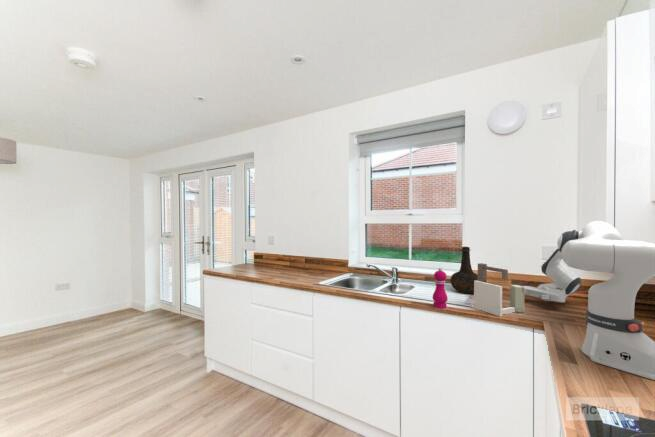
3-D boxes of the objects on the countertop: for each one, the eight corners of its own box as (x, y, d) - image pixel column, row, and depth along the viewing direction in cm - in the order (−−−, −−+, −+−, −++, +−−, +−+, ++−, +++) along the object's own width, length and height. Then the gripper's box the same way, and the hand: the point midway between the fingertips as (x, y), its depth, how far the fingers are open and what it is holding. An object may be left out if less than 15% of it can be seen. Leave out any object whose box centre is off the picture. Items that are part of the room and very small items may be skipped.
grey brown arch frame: (507, 313, 142) (508, 267, 142) (503, 313, 141) (504, 268, 141) (481, 304, 156) (481, 263, 155) (477, 305, 154) (477, 263, 154)
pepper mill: (448, 309, 148) (449, 269, 148) (433, 308, 149) (434, 268, 149) (445, 305, 155) (446, 267, 155) (431, 304, 156) (431, 266, 156)
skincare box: (525, 312, 143) (525, 287, 143) (515, 312, 144) (515, 287, 144) (518, 308, 150) (519, 284, 150) (509, 308, 150) (509, 284, 150)
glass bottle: (486, 292, 183) (486, 246, 182) (476, 297, 170) (476, 249, 170) (456, 287, 195) (457, 244, 195) (445, 291, 182) (446, 246, 182)
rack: (516, 313, 142) (517, 284, 142) (500, 316, 137) (500, 286, 137) (489, 305, 155) (490, 278, 155) (473, 308, 150) (474, 280, 150)
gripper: (526, 282, 166) (511, 284, 161) (568, 290, 148) (552, 293, 142) (526, 293, 166) (510, 295, 161) (568, 303, 148) (552, 306, 142)
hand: (530, 294), depth 151 cm, fingers open, 8 cm apart
